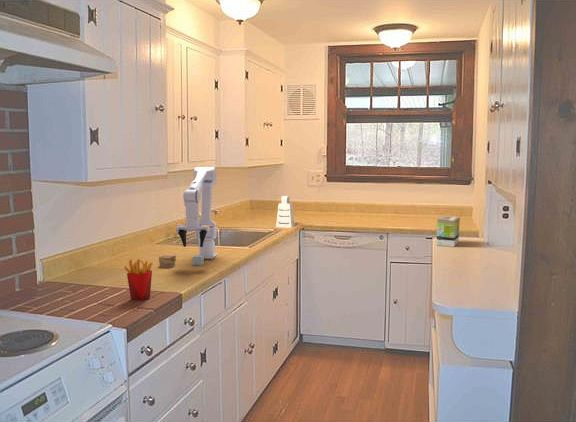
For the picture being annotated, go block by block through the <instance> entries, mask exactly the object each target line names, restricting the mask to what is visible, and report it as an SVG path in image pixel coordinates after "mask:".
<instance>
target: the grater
mask: <svg viewBox="0 0 576 422" xmlns="http://www.w3.org/2000/svg"><path fill="white" fill-rule="evenodd" d="M293 206H294V205H293V202H291V201H290V195H282V196H281V202H278V205H277V215H276V223H275V228H287V229H289V228H290V229H292V228H293V227H295V226H296V223H295V215H294V207H293Z"/></svg>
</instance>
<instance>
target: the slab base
mask: <svg viewBox="0 0 576 422" xmlns="http://www.w3.org/2000/svg"><path fill="white" fill-rule="evenodd" d="M175 265H176V261H174V262H172V263H159V269H165V268H166V269H167V268H168V269H169V268H173V269H174V267H175Z"/></svg>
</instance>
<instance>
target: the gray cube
mask: <svg viewBox="0 0 576 422" xmlns="http://www.w3.org/2000/svg"><path fill="white" fill-rule="evenodd" d="M204 264H205V261H204V256H203V255H199V254H195V255H193V256H192V266H203V265H204Z"/></svg>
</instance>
